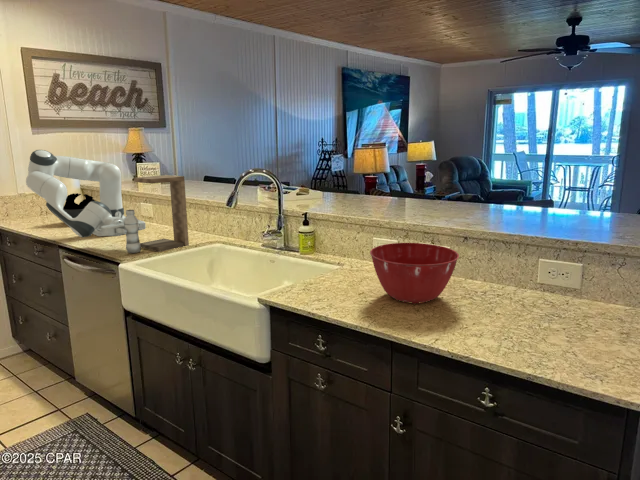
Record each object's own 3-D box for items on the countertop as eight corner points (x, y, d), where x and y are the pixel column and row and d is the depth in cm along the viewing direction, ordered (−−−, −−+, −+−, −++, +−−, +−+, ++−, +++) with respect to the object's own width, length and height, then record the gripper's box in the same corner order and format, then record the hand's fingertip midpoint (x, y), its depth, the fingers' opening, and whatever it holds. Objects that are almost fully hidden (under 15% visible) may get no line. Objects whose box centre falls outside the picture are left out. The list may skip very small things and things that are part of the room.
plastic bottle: (144, 251, 229) (140, 209, 225) (134, 255, 223) (130, 211, 218) (133, 250, 231) (129, 208, 227) (123, 254, 225) (119, 211, 220)
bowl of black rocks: (62, 222, 308) (58, 192, 304) (96, 219, 318) (93, 190, 314) (66, 227, 291) (62, 196, 287) (102, 223, 302) (99, 193, 298)
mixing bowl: (469, 310, 150) (472, 261, 146) (378, 313, 148) (379, 264, 144) (440, 283, 177) (442, 241, 174) (363, 285, 175) (363, 243, 172)
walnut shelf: (137, 247, 237) (131, 177, 230) (169, 241, 251) (164, 174, 244) (157, 252, 227) (151, 179, 220) (188, 245, 241) (184, 176, 234)
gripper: (94, 223, 223) (110, 226, 215) (135, 217, 239) (151, 220, 231) (96, 236, 225) (112, 240, 216) (136, 229, 241) (152, 233, 232)
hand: (132, 229), depth 224 cm, fingers closed on plastic bottle, 6 cm apart
